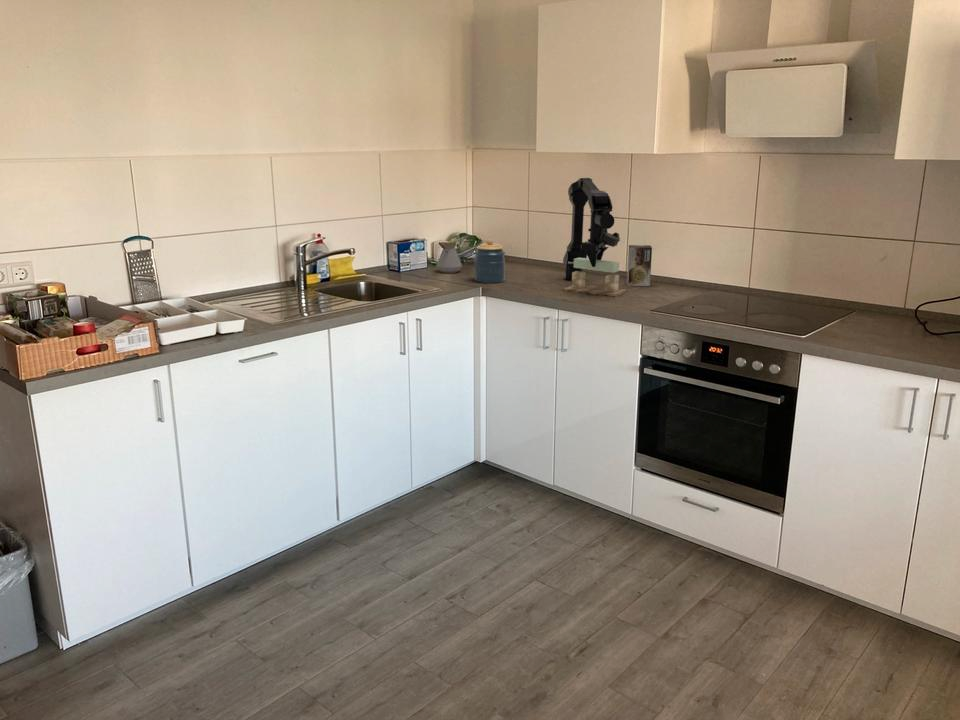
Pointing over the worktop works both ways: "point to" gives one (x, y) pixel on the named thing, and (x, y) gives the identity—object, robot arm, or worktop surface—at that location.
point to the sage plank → (600, 265)
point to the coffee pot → (448, 259)
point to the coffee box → (639, 265)
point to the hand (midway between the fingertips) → (595, 266)
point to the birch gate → (608, 290)
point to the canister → (489, 263)
